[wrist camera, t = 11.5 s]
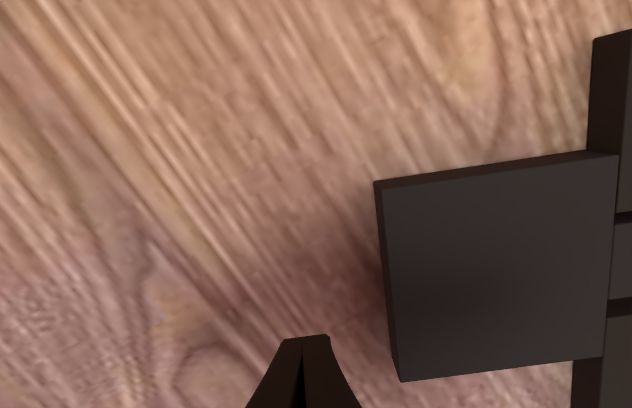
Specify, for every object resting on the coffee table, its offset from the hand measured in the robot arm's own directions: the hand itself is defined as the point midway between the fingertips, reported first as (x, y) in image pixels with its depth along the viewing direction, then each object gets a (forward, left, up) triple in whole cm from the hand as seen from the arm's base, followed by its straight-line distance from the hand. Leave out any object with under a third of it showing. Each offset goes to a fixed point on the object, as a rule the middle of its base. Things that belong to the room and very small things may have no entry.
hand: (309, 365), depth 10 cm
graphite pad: (+3, -8, -4) cm, 9 cm away
